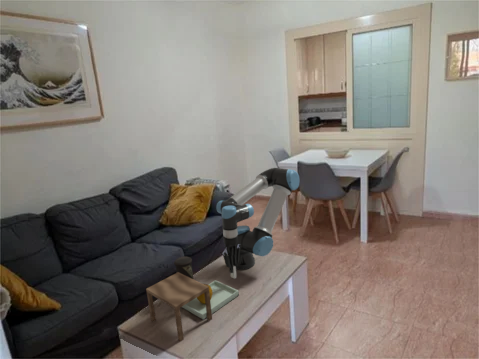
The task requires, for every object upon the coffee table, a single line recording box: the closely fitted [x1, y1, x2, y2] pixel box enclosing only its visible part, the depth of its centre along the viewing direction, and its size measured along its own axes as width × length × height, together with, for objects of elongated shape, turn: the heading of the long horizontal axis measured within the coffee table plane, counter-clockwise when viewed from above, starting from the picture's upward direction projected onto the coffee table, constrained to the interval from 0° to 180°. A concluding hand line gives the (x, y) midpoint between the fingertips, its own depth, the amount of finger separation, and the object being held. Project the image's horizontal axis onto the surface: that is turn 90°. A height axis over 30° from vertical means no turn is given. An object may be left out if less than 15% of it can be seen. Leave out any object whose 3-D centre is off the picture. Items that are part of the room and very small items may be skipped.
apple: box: [197, 283, 213, 304], centre depth 163 cm, size 8×8×9 cm
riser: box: [145, 272, 213, 342], centre depth 151 cm, size 18×22×16 cm
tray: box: [181, 280, 240, 320], centre depth 165 cm, size 24×17×2 cm
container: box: [173, 256, 194, 279], centre depth 171 cm, size 9×9×20 cm
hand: (233, 277), depth 177 cm, fingers closed
